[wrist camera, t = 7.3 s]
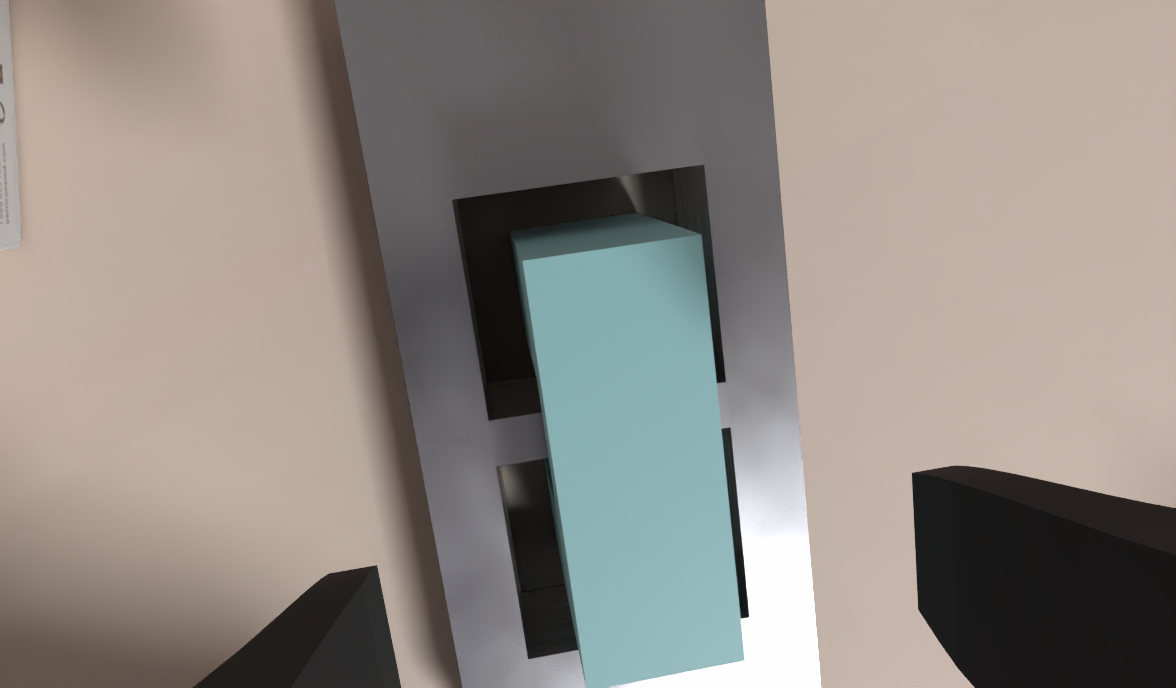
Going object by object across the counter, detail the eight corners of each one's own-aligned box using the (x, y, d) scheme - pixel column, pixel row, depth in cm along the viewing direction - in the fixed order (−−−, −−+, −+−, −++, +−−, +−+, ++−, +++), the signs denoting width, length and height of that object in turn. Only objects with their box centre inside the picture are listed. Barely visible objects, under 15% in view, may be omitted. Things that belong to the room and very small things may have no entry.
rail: (783, 683, 23) (826, 758, 20) (487, 741, 23) (488, 827, 20) (717, -28, 19) (760, -61, 16) (354, 15, 19) (332, -11, 16)
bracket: (674, 527, 22) (745, 660, 16) (557, 548, 22) (586, 691, 16) (637, 212, 20) (701, 234, 14) (509, 230, 20) (522, 261, 14)
